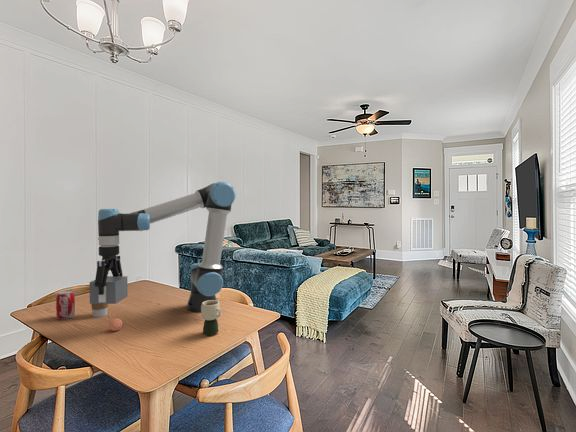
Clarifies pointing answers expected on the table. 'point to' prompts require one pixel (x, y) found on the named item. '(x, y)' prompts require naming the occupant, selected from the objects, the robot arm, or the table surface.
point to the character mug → (210, 316)
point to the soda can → (65, 305)
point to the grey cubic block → (110, 290)
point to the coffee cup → (99, 309)
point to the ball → (115, 324)
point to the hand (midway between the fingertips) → (109, 298)
